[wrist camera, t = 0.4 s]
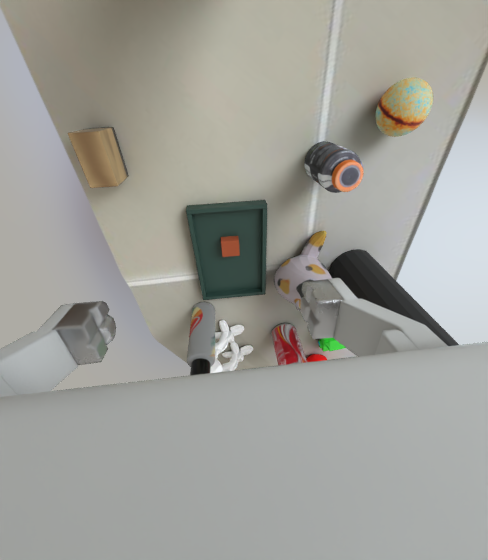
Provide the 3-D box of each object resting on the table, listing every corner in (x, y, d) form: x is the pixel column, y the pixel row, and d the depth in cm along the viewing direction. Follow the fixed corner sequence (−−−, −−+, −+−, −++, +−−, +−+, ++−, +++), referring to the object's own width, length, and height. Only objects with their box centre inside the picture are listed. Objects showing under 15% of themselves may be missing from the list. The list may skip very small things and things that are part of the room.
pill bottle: (303, 181, 44) (326, 202, 35) (303, 144, 40) (329, 157, 31) (335, 175, 43) (367, 195, 35) (339, 137, 40) (375, 149, 31)
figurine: (261, 294, 56) (289, 319, 42) (281, 222, 53) (318, 223, 39) (305, 303, 60) (345, 328, 46) (326, 235, 57) (375, 240, 43)
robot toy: (255, 355, 74) (266, 424, 58) (212, 366, 76) (212, 437, 60) (238, 314, 63) (246, 388, 47) (188, 328, 64) (179, 404, 48)
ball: (385, 71, 35) (416, 66, 30) (421, 89, 37) (457, 88, 31) (358, 125, 39) (382, 130, 33) (392, 139, 41) (420, 146, 35)
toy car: (316, 322, 68) (325, 341, 62) (340, 316, 67) (351, 335, 62) (318, 345, 74) (326, 364, 69) (339, 340, 74) (349, 359, 69)
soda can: (274, 340, 71) (284, 382, 61) (267, 325, 67) (277, 367, 56) (297, 334, 70) (311, 374, 60) (292, 318, 66) (306, 359, 55)
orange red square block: (220, 237, 48) (220, 241, 46) (238, 235, 48) (238, 240, 46) (222, 252, 50) (222, 257, 48) (238, 250, 50) (239, 255, 49)
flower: (311, 347, 75) (320, 370, 68) (330, 352, 77) (340, 375, 71) (297, 361, 79) (304, 384, 72) (315, 366, 81) (323, 388, 75)
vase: (325, 286, 60) (398, 410, 36) (333, 251, 53) (428, 373, 30) (364, 282, 60) (462, 403, 37) (377, 247, 54) (504, 365, 30)
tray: (187, 205, 44) (185, 210, 42) (265, 199, 45) (267, 204, 43) (203, 293, 57) (203, 300, 56) (263, 288, 58) (265, 294, 56)
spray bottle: (187, 309, 60) (177, 385, 44) (203, 297, 58) (199, 372, 42) (204, 320, 63) (200, 395, 47) (219, 309, 61) (221, 383, 45)
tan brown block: (104, 177, 40) (90, 188, 35) (86, 128, 36) (67, 133, 31) (128, 176, 40) (117, 186, 36) (113, 127, 36) (98, 131, 31)
